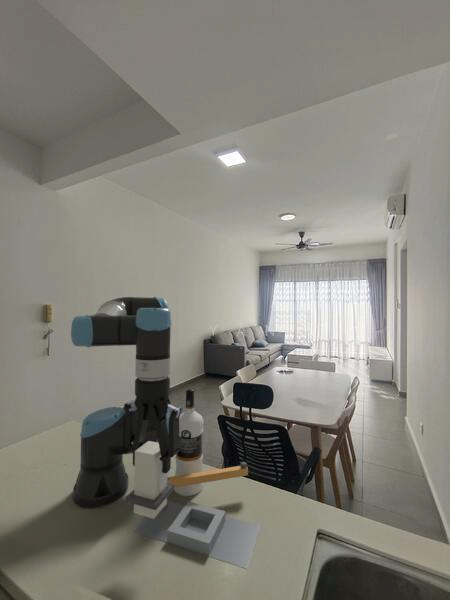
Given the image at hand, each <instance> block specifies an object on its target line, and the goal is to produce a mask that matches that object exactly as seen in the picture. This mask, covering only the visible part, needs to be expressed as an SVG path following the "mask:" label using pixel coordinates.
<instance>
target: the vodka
mask: <svg viewBox="0 0 450 600" xmlns="http://www.w3.org/2000/svg"><path fill="white" fill-rule="evenodd" d="M203 432H204V419H203V416H202V415H201V414H200V413H198V412H197V411H196V410H195V389H193V388H186V390H185V411H183V412H182V413H181V414H180V417H179V452H178V453H176V454H175V455H174V456H175V473H174V476H179V475H186V474H192V473H198V472H204V471H203V470H204V469H203V457H204V455H203V446H204V445H203V443H204V442H203V438H204V437H203V435H204V434H203ZM204 488H205V483H199V484H194V485H188V486H182V487H176V488H174V489H173V491H174V492H175V493H177V494H178V495H179V496H183V497H188V496H189V497H190V496H191V497H192V496H194V495H197V494H199V493H201V492H202V491H203V490H204Z"/></svg>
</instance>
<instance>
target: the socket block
mask: <svg viewBox="0 0 450 600" xmlns="http://www.w3.org/2000/svg"><path fill="white" fill-rule="evenodd" d="M261 527H262V525H260V524H256V523H253V522H250V521H245V520H241V519H238V518H233V517H230V516H227V515H226V511H225V510H223V509H219V508H215V507H210V506H207V505H203V504H199V503H196V502H192V501H187V502H186V504H183V503H178V502H175V501H173V500H168V499H167V504H166V505H165V506H164V507H163V508H162V510H161V511H160V512H159V513H158V514H157V516H156V517H155V518H154V519H153V518H149V517H146V516H144V518H143V519H142V521H141V522H140V523H139V524H138V525H137V526H136V528H135V529H134V530H133V533H137V534H140V535H142V536H146V537H148V538H151V539H154V540H158V541H160V542H163V543H167V544H169V545H173V546H175V547H178V548H182V549H185V550H188V551H191V552H194V553H197V554H200V555H203V556H206V557H208V558H213V559H216V560H218V561H220V562H221V561H222V562H225V563H227V564H230V565H233V566H237V567H240V568H243V569H245V570H248V569H249V567H250V563H251V560H252V556H253V553H254V551H255V547H256V543H257V541H258V537H259V534H260V530H261Z"/></svg>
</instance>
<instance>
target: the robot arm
mask: <svg viewBox="0 0 450 600" xmlns="http://www.w3.org/2000/svg"><path fill="white" fill-rule="evenodd" d="M171 326H172V320H171V310H170V309H169V305H168V301H167V300H166V299H165V298H164V297H155V296H153V297H140V296H139V297H137V296H135V297H133V296H132V297H130V296H123V297H118V298H114V299H111V300H108V301H106V302H103V304H101V305H100V306H99V308H98V310H97V312H96V313H94V314H93V315H91V314H90V315H89V314H86V315H77V316H74V317H73V319H72V322H71V327H70V338H71V343H72V344H73V345H74V346H75V347H83V348H85V347H86V348H91V347H111V346H113V347H115V346H119V347H121V346H135V372H134V373H135V374H134V375H135V377H136V378H135V380H134V395H135V399H134V400H130V401H128V402H127V403H124V404H123V407H121V406H118V407H117V406H110V407H106V408H101V409H99V410H96V411H95V410H94V412H93V411H92V412H91V413H90V414H88V415H87V416H85V417H84V419H83V420H82V422H81V430H80V431H81V432H80V469H79V471H78V475H77V477H76V481H75V483H74V486H73V489H72V500H73V503H74V505H76V506H78V507H80V508H84V509H95V508H97V509H98V508H101V507H105V506H109V505H110V504H112V503H114V502H116V501H118V500H120V499H121V498H122V497H123V496H124V495H125V494H126V493H127V491H128V488H129V476H128V473H127V472H126V468H125V464H124V461H123V458H124V457H123V455H129V454H132V465H133V467H135V451H136V450H137V449H138V448H140V447H141V446H142V445H144V444H145V443H146V442H148V441H152V442H157V443H159V448H160V453H161V456H160V457H159V458H158V487H157V490H160V491H161V489H162V488H163V487H164V486H165V485H166V484H167V477H168V473H169V472H170V470H171V468H172V467H171V465H172V463H171V461H172V459H171V458H173V457H174V456H176V453H178V452H179V417H180V414H182V413H181V412H182V410H183V409H182V407H181V406H177V407H176V406H174V405H172V404H171V401H170V393H171V389H170V388H171V383H170V382H171V378H170V377H169V375H170V374H171V330H172V329H171Z"/></svg>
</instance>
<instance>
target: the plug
mask: <svg viewBox="0 0 450 600" xmlns="http://www.w3.org/2000/svg"><path fill="white" fill-rule="evenodd" d="M160 456H161V453H160V448H159V443H157V442H152V441H148V442H146V443H145V444H144V445H142V446H141V447H140V448H138V449H137V450H136V451H135V466H134V476H133V478H134V480H133V485H134V487H133V488H134V489H133V490H131V491H130V492H129V493H128V494H127V495H126V496H125V502H126V503H129V504H133V513H134V514H137V515H141V516H142V517H149V518H153V519H154V518H155V517H156V516H157V514H158V513H159V512H160V511H161V510H162V508H163V507H164V506H165V505H166V504H167V500H168V497H169V495H171V493H172V492H173V491H174V484H171V483H167V484H166V485H165V486H164V487H163V488H162V489H161V491H160V490H157V487H158V458H159V457H160Z"/></svg>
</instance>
